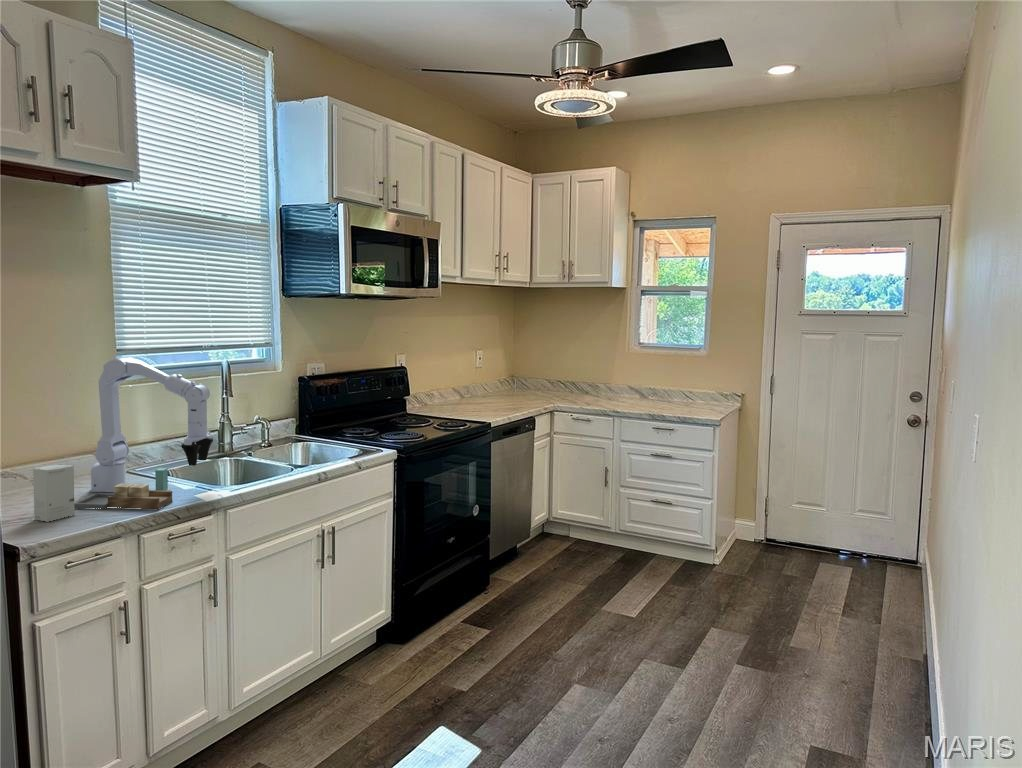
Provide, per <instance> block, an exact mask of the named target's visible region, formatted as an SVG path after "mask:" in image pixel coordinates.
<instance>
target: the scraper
mask: <svg viewBox="0 0 1022 768" xmlns="http://www.w3.org/2000/svg"><path fill="white" fill-rule="evenodd" d="M154 472H155V473H154V475H155V479H154V480H155V490H160V491H171V488H169V483H168V481H169V477H168V467H167V468H165V467H159V468H158V469H155V471H154Z"/></svg>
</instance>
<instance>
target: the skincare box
mask: <svg viewBox="0 0 1022 768" xmlns="http://www.w3.org/2000/svg"><path fill="white" fill-rule="evenodd" d="M32 471H33V472H32V473H33V475H32V477H33V516H34V517H33V518H34V521H35V520H36V521H40V522H43V521H47V522H46V523H50V522H49V521H51V522H54V521H53V520H55V521H57V520H56V519H58V520H61V519H60V518H62V519H65V518H69V517H72V516H71V515H74V516H75V515H76V513H75V509H74V503H75V476H74V475H75V470H74V465H70V464H61V463H60V464H54V465H52V464H51V465H46V466H41V467H40V466H39V467H35V468H33V469H32ZM68 516H69V517H68ZM64 517H65V518H64Z"/></svg>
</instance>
